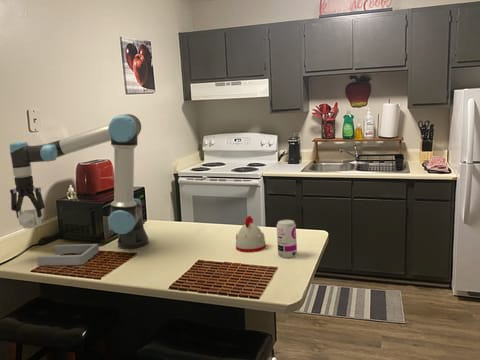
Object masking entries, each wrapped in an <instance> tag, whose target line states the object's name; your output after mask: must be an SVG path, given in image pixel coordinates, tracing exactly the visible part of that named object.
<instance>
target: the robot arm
mask: <svg viewBox="0 0 480 360" xmlns="http://www.w3.org/2000/svg"><path fill="white" fill-rule="evenodd" d="M141 131H142V123H141V121H140V119H139V117H137V116H136V115H133V114H130V113H129V114H128V113H127V114H125V113H124V114H119V115H116V116H114V118H112V119H111V120H110V122H109V124H106V125H103V126H100V127H97V128H93V129H89V130H87V131H84V132H81V133H77V134H74V135H70V136H68V137H65V138H62V139H59V140H55V141H51V142H49V143H43V144H38V145H29V144H28V142H27V141H16V142H11V143H10V144H9V154H10V159H11V160H10V161H11V165H12V174H13V177H14V184H15V188H12V189H9V193H10V201H11V203H10V205H11V206H10V207H11V208H10V209H11V211H13V212H15V213H16V215H15V216H16V218H17V219H18V218H19V217H20V215H21V214H22V213H23V212H24V210H22V206H23V202H24V198H25V197H28V199H29V200H30V201H31V203H32V205H33V208H35V217H36V223H37V224H36V226H39V225H41V224H42V219H41V218H42V216H43V215H42V213H43V212H42V210H43V209H45V206H46V205H45V202H44V200H43V196H42V193H41V192H42V191H41V190H42V189H41V187H35V186H34V178H33V171H32V166H31V165H32V164H31V163H41V162H43V163H45V162H47V163H49V162H53V161H56V160H57V158H60V157H63V156H66V155H69V154H72V153H75V152H79V151H82V150H85V149H89V148H92V147H95V146H98V145H101V144H104V143H108V142H110V145H111V146H112V147H113V149H114V150H113V151H114V154H113V155H114V157H113V158H114V159H113V160H114V162H113V163H114V167H113V168H114V171H113V172H114V177H113V179H114V181H113V183H114V185H113V186H114V188H113V189H114V191H113V192H114V193H113V194H114V195H113V197H114V198H113V201H112V202H111V203H110V214H109V216H108V219H107V221H108V222H107V223H108V226H109V228H110V229H111V231H113V232H114V233H116V234H118V236H117V237H118V238H117V247H118V248H120V249H125V250H128V249H137V248H141V247H144V246H146V245H148V244H149V241H150V240H149V237H148V234H147V232H146V230H145V228H144V219H143V217H144V216H143V210H142V205H143V204H142V202H141V199H140V198H134V185H135V184H134V183H135V181H134V180H135V177H134V175H135V174H134V173H135V169H134V168H135V167H134V166H135V148H136V147H138V141H139V139H138V138H139V134H140V133H141ZM17 193H18V194H17ZM18 223H19V226H20V227H22V224H21V223H20V221H19V220H18Z"/></svg>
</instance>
